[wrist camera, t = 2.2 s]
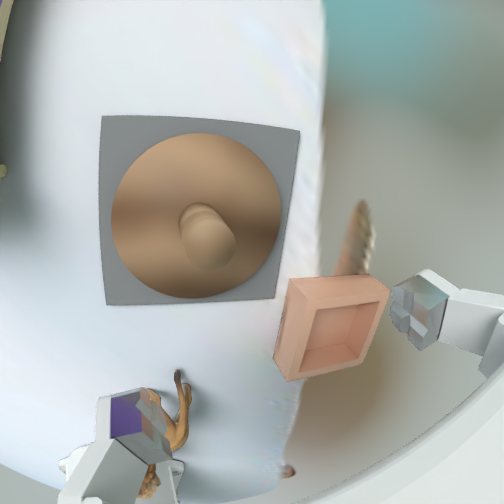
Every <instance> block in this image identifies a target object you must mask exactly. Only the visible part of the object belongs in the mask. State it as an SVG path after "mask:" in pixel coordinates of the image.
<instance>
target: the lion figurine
mask: <svg viewBox="0 0 504 504" xmlns="http://www.w3.org/2000/svg"><path fill="white" fill-rule="evenodd" d="M180 377H181V374H180V370H176V371H175V373H174V381H175V384H176V387H177V391H178V395H179V403H180V409H179V410H178V413H177V415H176V417H175V418H174V420H173V421H172V419H171V418H170V417H169V416H168V414H167V413H166V412H165V411H164V409H163V408H162V406H161V397H160V396H159V395H158V394H156V393H155V392H154V391H152V390H151V389H146V390H147V391H148V393H149V394H150V399H151V401H154V402H157V404H158V405H159V406H160V408H161V410H162V411H163V413H164V416H165V419H166V422H167V428H168V430H167V432H166V434H165V435H164V436H165V437H166V438H167V439H168V440H169V441H170V446H171V451H174V450H177V449H179V448H180V447H182V446H183V445H184V443H185V442H186V440H187V438H188V433H189V427H188V411H189V406H190V404H191V401H192V396H191V389H190V385H188V384H181V381H180ZM148 466H149V467H148V469H147V472H146V474H145V477H144V480H143V482H142V485H141V488H140V490H139V493H138V496H137V497H138V498H151V496H152V494H153V493H155V492H156V490H157V489H158V488H157V486H159V485H161V482H160V478H159V477H158V476H157V474H156V472H155V471H156V463H154V464H150V465H148Z"/></svg>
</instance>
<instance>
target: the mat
mask: <svg viewBox="0 0 504 504" xmlns="http://www.w3.org/2000/svg"><path fill="white" fill-rule="evenodd" d="M189 133H207V134H215V135H220V136H223V137H227V138H230V139H232V140H235V141H237V142H239V143H241V144H243V145H244V146H246V147H247V148H249V149H250V150H251V151H253V152H254V153H255V154H256V155H257V156H258V157H259V158H260V159H261V160H262V161H263V162H264V163H265V165H266V166H267V168H268V169H269V171H270V172H271V174H272V176H273V178H274V180H275V182H276V185H277V188H278V191H279V196H280V202H281V221H280V227H279V232H278V235H277V238H276V241H275V244H274V246H273V248H272V250H271V252H270V254H269V255H268V257H267V258H266V260H265V261H264V263H263V264H262V265H261V266H260V267H259V269H258V270H257V271H256V272H255V273H254V274H253V275H252V276H250V277H249V278H248V279H247V280H245V281H244V282H243V283H241V284H239V285H238V286H236V287H235V288H233V289H230V290H228V291H226V292H224V293H221V294H218V295H215V296H210V297H206V298H197V299H185V298H177V297H172V296H168V295H165V294H162V293H160V292H157V291H155V290H153V289H151V288H149V287H148V286H146V285H145V284H143V283H142V282H141V281H139V280H138V279H137V278H136V277H135V276H134V275H133V274H132V273H131V272H130V271H129V270H128V268H127V267H126V266H125V264H124V263H123V261H122V259H121V258H120V256H119V254H118V251H117V249H116V247H115V244H114V240H113V236H112V228H111V211H112V206H113V200H114V197H115V194H116V191H117V188H118V186H119V184H120V182H121V180H122V178H123V176H124V175H125V173H126V172H127V170H128V169H129V167H130V166H131V165H132V164H133V163H134V162H135V160H136V159H137V158H138V157H139V156H140V155H142V154H143V153H144V152H145V151H146V150H148V149H149V148H151V147H152V146H154V145H156V144H157V143H159V142H161V141H164V140H166V139H168V138H171V137H174V136H178V135H182V134H189ZM299 135H300V131H298V130H292V129H286V128H280V127H273V126H266V125H259V124H252V123H244V122H235V121H226V120H215V119H204V118H190V117H172V116H102V121H101V134H100V151H99V229H100V246H101V260H102V271H103V281H104V290H105V298H106V305H148V304H179V303H202V302H222V301H239V300H254V299H269V298H274V293H275V287H276V282H277V276H278V270H279V264H280V258H281V253H282V247H283V241H284V234H285V228H286V222H287V216H288V210H289V203H290V197H291V190H292V184H293V177H294V170H295V163H296V157H297V150H298V143H299Z"/></svg>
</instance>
